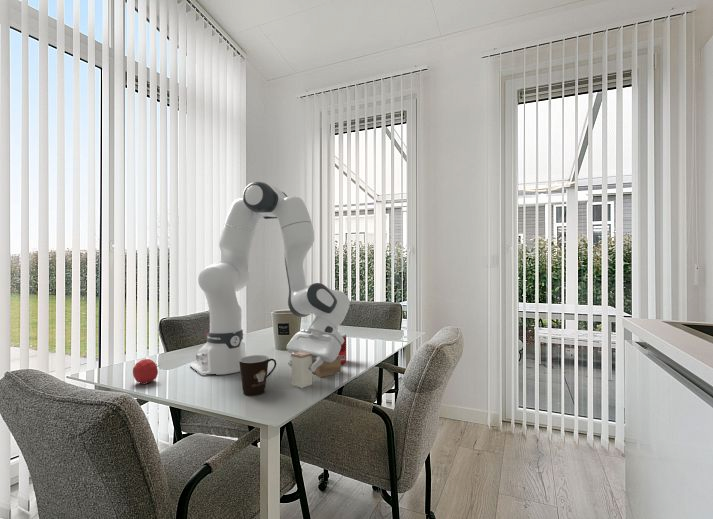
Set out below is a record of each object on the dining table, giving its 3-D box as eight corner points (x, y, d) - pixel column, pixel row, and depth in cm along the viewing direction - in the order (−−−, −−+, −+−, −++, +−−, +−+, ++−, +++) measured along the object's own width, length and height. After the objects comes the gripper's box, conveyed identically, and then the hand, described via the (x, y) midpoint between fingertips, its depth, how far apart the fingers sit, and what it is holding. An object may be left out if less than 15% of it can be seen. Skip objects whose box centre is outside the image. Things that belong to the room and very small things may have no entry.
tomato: (132, 359, 114) (156, 350, 120) (126, 371, 118) (150, 361, 124) (143, 381, 112) (167, 370, 118) (137, 391, 116) (160, 380, 122)
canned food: (347, 359, 143) (347, 332, 143) (345, 365, 135) (344, 336, 135) (328, 359, 144) (328, 332, 144) (325, 365, 136) (324, 336, 136)
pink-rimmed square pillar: (291, 385, 114) (291, 353, 114) (302, 381, 118) (302, 350, 118) (301, 388, 111) (301, 355, 111) (312, 384, 115) (312, 352, 115)
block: (305, 372, 128) (305, 355, 128) (325, 367, 134) (325, 351, 134) (320, 377, 121) (319, 360, 121) (340, 372, 127) (340, 355, 127)
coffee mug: (240, 399, 102) (240, 364, 102) (237, 389, 110) (237, 357, 110) (281, 393, 107) (281, 359, 107) (275, 384, 115) (275, 353, 115)
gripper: (295, 323, 126) (273, 357, 118) (339, 330, 114) (318, 368, 106) (304, 334, 130) (284, 367, 122) (348, 341, 117) (328, 379, 109)
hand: (300, 368), depth 114 cm, fingers open, 8 cm apart
